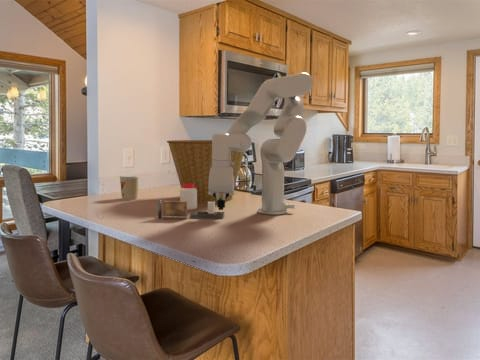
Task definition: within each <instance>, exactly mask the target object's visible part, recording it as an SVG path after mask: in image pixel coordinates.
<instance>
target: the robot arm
mask: <svg viewBox="0 0 480 360" xmlns="http://www.w3.org/2000/svg"><path fill="white" fill-rule="evenodd" d="M313 87H314V80H313V77H312V76H311V75H310V73H308V72H299V73H295V74H290V75H284V76H280V77H279V76H278V77H274V78H269V79H267V80H264V81H263V82H262V83H261V85H260V87H259V88H258V89H257V92H256V93H255V94H254V96H253V98H252V99H251V101H250V102H249V105H248V106H247V108H245V110H244V111H243V112H242V113H241V114H240V115H239V116H238V117H237V118H236V119H235V120H234V121H233V123H232V125H231V126H230V128H229V129H228V130H227V132H226V133H225V132H224V133H221V132H217V133H213V134H212V136H211V140H212V167H211V168H210V173H209V184H208V189H209V191H208V194H209V195H212V196H214V197H215V198H216V199H217V202H216V207H217V208H218V210H219V211H220V210H221V211H224V208H226V201H225V199H226V198H227V197H228V196H232V195H233V196H234V195H235V188H234V173H233V168H232V167H231V166H232V165H234V162H233V161H231V151H238V152H243V151H244V152H247V151H248V150H249V149H251V146H252V138H251V137H250V136H249V135H248V134H247V133H248V132H249V131H250V130H251V129H252V128H253V127H255V126H257V125H258V124H261V123H262V122H263V121H264V120H265V119H266V117H267V116H268V114H269V112H270V111H271V109H272V108H273V106H274V104H275V103H276V101H277V100H281V99H282V100H283V99H284V103H283V106H282V110H281V112H280V113H279V116H278V117H277V119H276V122H275V123H274V126H273V134H274V135H275V136H276V137H277V138H269V139H266V140H265V141H264V142H263V143H262V144H261V146H260V150H259V151H260V153H259V155H260V160H261V207H259V208H258V209H257V212H258V213H259V214H262V215H263V214H264V215H269V216H270V215H272V216H273V215H277V216H278V215H284V214H287V213H288V209H295V203H286V202H285V167H284V166H285V165H284V163H289V162H291V161H292V160H293V159H294V158H295V157H296V154H298V151H299V149H300V147H301V145H302V143H303V140H304V138H305V135H306V133H307V127H308V126H307V123H306V121H305V119H304V118H303V117H301V116H302V115H303V111H304V100H303V96H302V95H306V94H307V93H309V92H311V90H312V88H313ZM214 192H215V193H214ZM220 193H223V197H222V200H221V198H220ZM233 196H232V197H233Z"/></svg>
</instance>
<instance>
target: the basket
mask: <svg viewBox="0 0 480 360" xmlns="http://www.w3.org/2000/svg"><path fill="white" fill-rule="evenodd" d="M166 142H167V144H168V146H169V149H170V153H171V157H172V160H173V164H174V167H175V170H176V174H177V178H178V180H179V181H178V182H179V184H180V189H181V188H182V184H185V183H193V184H195V188H196V189H197V203H201V204H202V203H203V204H205V203H207V204H208V202H209V201H215V203H217V199H216V198H215V197H214V196H212V195H209V194H208V191H209V189H208V184H209V173H210V168H211V167H212V139H210V140H209V139H204V140H202V139H197V140H196V139H194V140H193V139H192V140H191V139H190V140H189V139H186V140H185V139H183V140H181V139H180V140H179V139H176V140H174V139H173V140H166ZM244 154H245V151H243V152H238V151H231V161H233V162H234V165H232V166H231V167H232V168H233V173H234V189H235V187H236V184H237V181H238V176H239V173H240V169H241V165H242V162H243V159H244ZM214 193H215V192H214ZM233 196H234V195H232V196H228V197H227V198H226V199H225V202H229V201H232V200H233ZM222 197H223V193H220V198H221V200H222Z"/></svg>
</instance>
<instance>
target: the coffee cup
mask: <svg viewBox="0 0 480 360" xmlns="http://www.w3.org/2000/svg"><path fill="white" fill-rule="evenodd" d="M119 182H120V192H121V199H122V200H123V199H124V201H134V199H135V200H137V199H138V195H139V175H138V174H123V175H122V174H121V175H120V177H119Z"/></svg>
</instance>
